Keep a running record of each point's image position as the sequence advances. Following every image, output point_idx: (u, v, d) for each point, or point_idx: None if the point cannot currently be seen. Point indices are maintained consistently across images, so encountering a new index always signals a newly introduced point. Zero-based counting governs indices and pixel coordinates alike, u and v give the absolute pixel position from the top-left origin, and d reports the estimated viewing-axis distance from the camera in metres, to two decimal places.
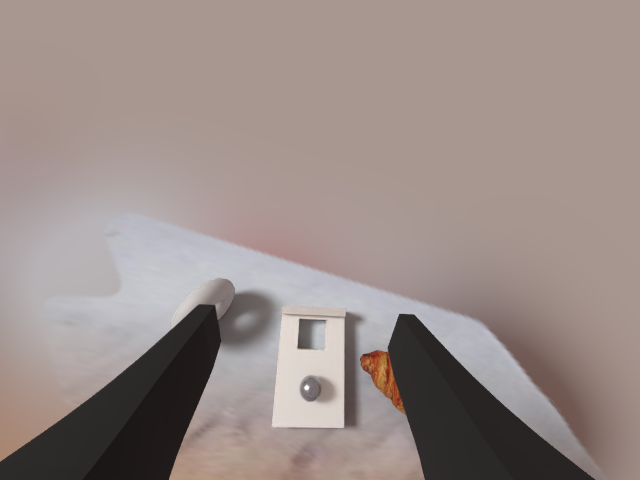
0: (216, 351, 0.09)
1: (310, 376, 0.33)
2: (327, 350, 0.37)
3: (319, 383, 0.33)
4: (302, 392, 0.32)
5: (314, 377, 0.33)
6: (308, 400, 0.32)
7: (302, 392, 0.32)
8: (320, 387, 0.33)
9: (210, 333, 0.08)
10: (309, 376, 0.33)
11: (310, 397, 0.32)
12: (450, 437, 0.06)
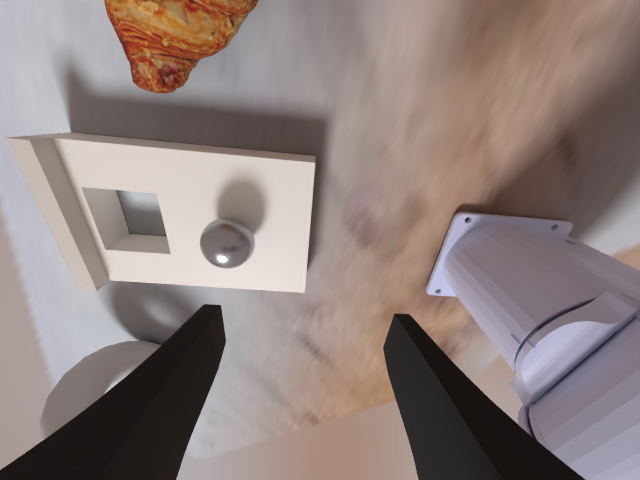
0: (221, 351, 0.09)
1: None
2: (156, 190, 0.15)
3: (208, 231, 0.14)
4: None
5: (200, 239, 0.14)
6: (244, 256, 0.14)
7: (228, 268, 0.14)
8: (216, 229, 0.13)
9: (216, 333, 0.09)
10: None
11: (234, 255, 0.14)
12: (443, 437, 0.06)
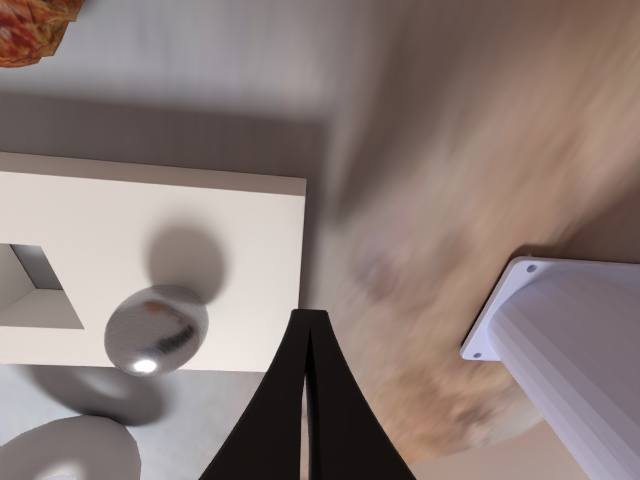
0: None
1: None
2: (39, 241, 0.09)
3: (114, 323, 0.08)
4: None
5: None
6: (185, 356, 0.08)
7: None
8: (128, 320, 0.07)
9: None
10: None
11: (162, 363, 0.08)
12: (315, 435, 0.06)
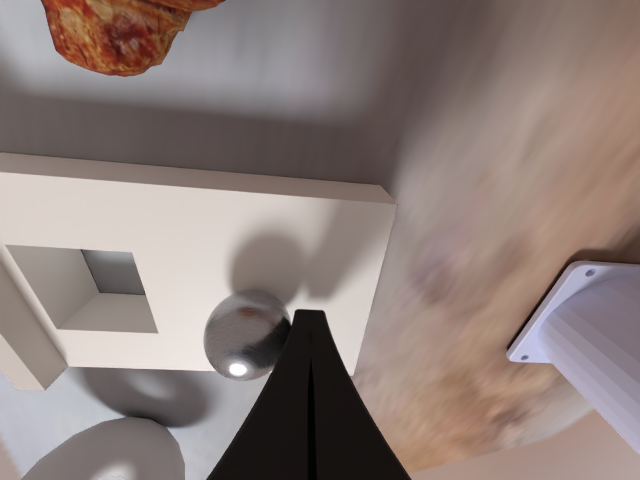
0: None
1: None
2: (131, 248, 0.09)
3: (218, 328, 0.08)
4: None
5: None
6: None
7: None
8: (233, 326, 0.08)
9: None
10: None
11: (262, 368, 0.08)
12: (311, 435, 0.06)
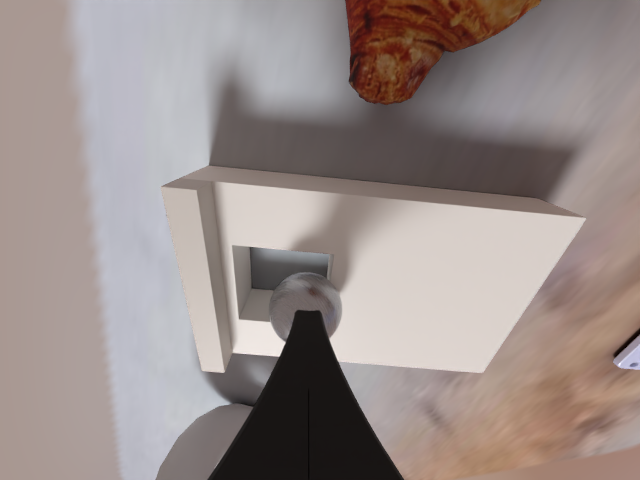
0: None
1: (339, 323, 0.10)
2: (334, 251, 0.10)
3: (333, 287, 0.10)
4: None
5: (340, 311, 0.10)
6: None
7: None
8: (325, 278, 0.10)
9: None
10: None
11: None
12: None
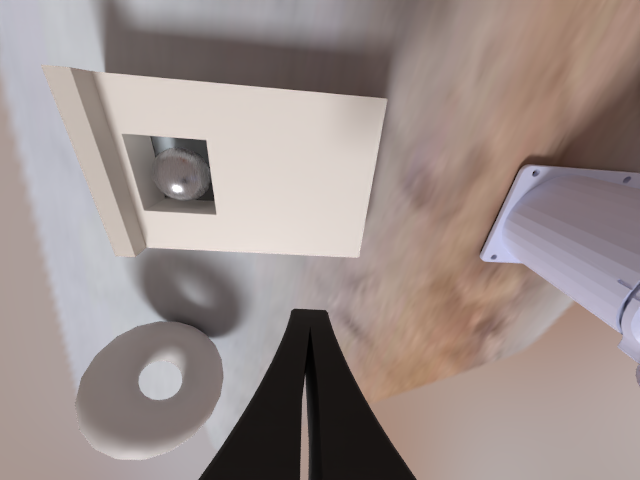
0: None
1: (181, 184, 0.14)
2: (205, 137, 0.13)
3: (189, 159, 0.14)
4: (204, 192, 0.16)
5: (181, 174, 0.13)
6: None
7: (204, 192, 0.16)
8: (193, 154, 0.14)
9: None
10: (180, 186, 0.14)
11: None
12: (315, 435, 0.06)
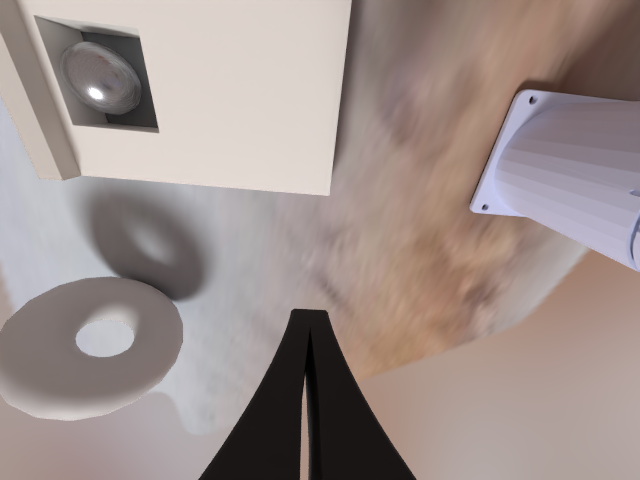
0: None
1: (67, 79, 0.11)
2: (137, 23, 0.11)
3: (80, 50, 0.11)
4: (123, 107, 0.13)
5: (65, 65, 0.11)
6: (138, 91, 0.13)
7: (122, 107, 0.13)
8: (93, 47, 0.11)
9: None
10: (68, 82, 0.12)
11: (130, 83, 0.12)
12: (315, 436, 0.06)
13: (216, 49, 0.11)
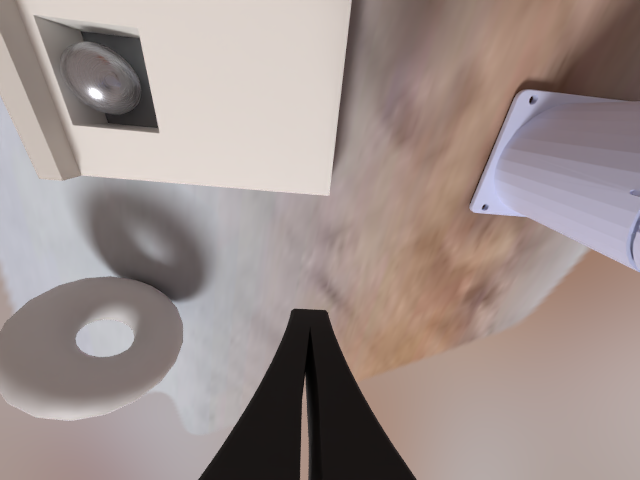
0: None
1: (66, 79, 0.11)
2: (137, 23, 0.11)
3: (79, 49, 0.11)
4: (123, 107, 0.13)
5: (65, 65, 0.11)
6: (138, 91, 0.13)
7: (122, 107, 0.13)
8: (92, 47, 0.11)
9: None
10: (68, 82, 0.12)
11: (129, 83, 0.12)
12: (315, 436, 0.06)
13: (216, 49, 0.11)
